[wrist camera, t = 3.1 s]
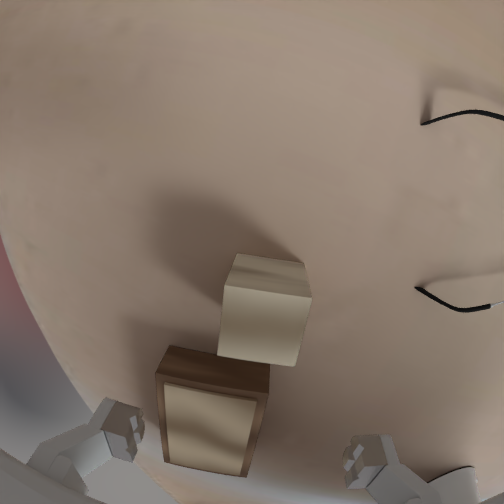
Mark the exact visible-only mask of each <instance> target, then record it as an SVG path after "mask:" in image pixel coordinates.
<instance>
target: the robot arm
mask: <svg viewBox="0 0 504 504" xmlns="http://www.w3.org/2000/svg"><path fill="white" fill-rule="evenodd" d="M142 416H143V412H142V409H141V408H137V407H134V406H131V405H128V404H125V403H122V402H119V401H116V400H113V399H110V398H107V397H106V398H105V399H103V400H102V402H101V404H100V405H99V407H98V409H97V410H96V412H95V413H94V415H93V417H92V419H91V420H90V422H89V423H88V425H87V424H83V425H81V426H78V427H76V428H74V429H72V430H70V431H67V432H65V433H63V434H60V435H58V436H56V437H54V438H51V439H49V440H46V441H44V442H42V443H40V444H39V446H38V447H37V449H36V450H35V452H34V453H33V455H32V456H31V458H30V459H29V461H28V463H27V464H24V463H22V462H21V461H19V460H17V459H16V458H14V457H13V456H11V455H10V454H8V453H7V452H5V451H4V450H2V449H1V448H0V504H106V503H104V502H101V501H98V500H96V499H93V498H91V497H89V496H86V495H87V493H88V488H87V486H86V485H85V483H84V481H83V480H82V477H84V476H85V475H87V474H88V473H90V472H92V471H93V470H95V469H96V468H98V467H99V466H101V465H102V464H104V463H105V462H107V461H108V460H109V459H111V458H112V456H113V457H116V458H119V459H122V460H125V461H129V462H133V460H134V458H135V455H136V453H137V451H138V450H137V446H136V445H137V444H138V443H140V442H141V441H142V438H143V435H144V430H145V424H144V421H143V420H142ZM343 468H344V469H345V470H346V471H347V474H346V475H345V481H346V487H347V489H359V488H366V490H367V491H368V492H369V493H370V494H371V496H372V497H373V498H374V499H375V500H376V501H377V503H378V504H504V492H503V493H501V494H498V495H496V496H494V497H492V498H489V499H487V500H485V501H482V502H481V498H480V494H479V490H478V486H477V481H478V480H477V477H476V474H475V469H474V468H472V467H467V468H462V469H459V470H456V471H453V472H451V473H448V474H446V475H444V476H442V477H439V478H437V479H435V480H433V481H432V482H430V483H426V482H425V481H424V480H423V479H421V478H420V477H419V476H418V475H416V474H415V473H414V472H413V471H412V470H410V469H409V468H408V467H407V466H405V465H404V464H400V462H399V459H398V456H397V452H396V449H395V446H394V443H393V440H392V438H391V436H390V435H389V434H384V435H360V436H354V437H353V438H352V439H351V445H350V446H348V447H347V448H346V450H345V451H344V455H343Z"/></svg>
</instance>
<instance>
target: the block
mask: <svg viewBox="0 0 504 504" xmlns="http://www.w3.org/2000/svg"><path fill="white" fill-rule="evenodd" d="M311 302H312V294H311V290H310V286H309V282H308V278H307V274H306V270H305V266H304V263H299V262H293V261H286V260H279V259H273V258H266V257H260V256H253V255H247V254H240V253H237V255H236V257H235V260H234V262H233V265H232V267H231V270H230V272H229V275H228V278H227V280H226V283H225V285H224V294H223V304H222V313H221V322H220V332H219V342H218V352H217V355H218V356H223V357H229V358H235V359H241V360H248V361H254V362H261V363H268V364H276V365H284V366H292V367H295V364H296V361H297V357H298V353H299V349H300V346H301V342H302V338H303V334H304V330H305V326H306V322H307V318H308V314H309V310H310V306H311Z"/></svg>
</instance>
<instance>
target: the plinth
mask: <svg viewBox="0 0 504 504" xmlns="http://www.w3.org/2000/svg"><path fill="white" fill-rule="evenodd" d="M155 375H156V390H157V402H158V413H159V423H160V432H161V441H162V449H163V457H164V462H166V463H170V464H174V465H178V466H183V467H187V468H192V469H197V470H202V471H207V472H212V473H218V474H224V475H231V476H238V477H245V478H247V474H248V471H249V467H250V464H251V460H252V456H253V453H254V449H255V445H256V442H257V438H258V434H259V430H260V427H261V423H262V419H263V415H264V411H265V407H266V403H267V399H268V395H269V379H270V364H268V363H261V362H254V361H248V360H241V359H235V358H229V357H223V356H218V355H216V354H210V353H205V352H199V351H194V350H189V349H184V348H179V347H175V346H169V348H168V349H167V351H166V353H165V355H164V357H163V359H162V361H161V363H160V365H159V367H158V369H157V371H156V372H155Z"/></svg>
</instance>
